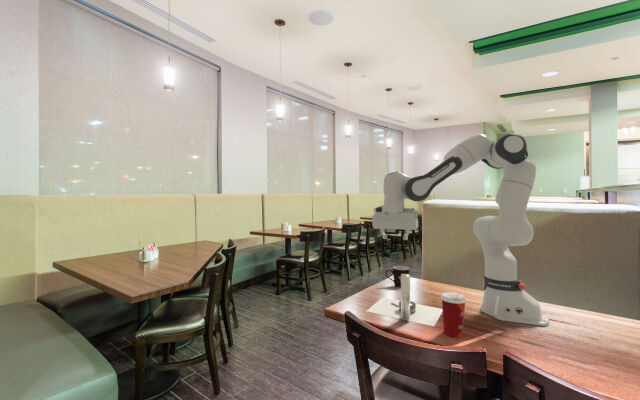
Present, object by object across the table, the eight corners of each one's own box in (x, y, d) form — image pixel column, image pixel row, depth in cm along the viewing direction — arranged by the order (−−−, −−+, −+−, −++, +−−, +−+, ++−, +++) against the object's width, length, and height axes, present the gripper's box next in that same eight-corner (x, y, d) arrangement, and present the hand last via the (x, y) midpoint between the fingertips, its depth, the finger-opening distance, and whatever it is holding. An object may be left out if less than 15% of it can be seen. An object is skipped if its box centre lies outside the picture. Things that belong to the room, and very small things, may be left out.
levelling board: (443, 312, 118) (443, 308, 118) (434, 329, 102) (434, 325, 102) (382, 300, 132) (382, 296, 132) (365, 314, 116) (365, 310, 116)
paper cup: (469, 343, 92) (469, 300, 92) (443, 341, 94) (443, 298, 93) (462, 332, 100) (462, 292, 100) (438, 330, 101) (438, 290, 101)
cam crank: (400, 301, 125) (400, 263, 125) (416, 303, 123) (416, 264, 123) (396, 320, 106) (396, 275, 106) (414, 323, 104) (414, 276, 104)
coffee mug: (411, 286, 153) (411, 267, 153) (406, 290, 146) (406, 270, 146) (390, 282, 159) (390, 264, 159) (384, 286, 152) (384, 267, 152)
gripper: (419, 207, 126) (420, 239, 126) (376, 208, 137) (376, 237, 137) (415, 208, 121) (416, 241, 121) (370, 208, 132) (371, 238, 132)
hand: (395, 239), depth 129 cm, fingers open, 8 cm apart
